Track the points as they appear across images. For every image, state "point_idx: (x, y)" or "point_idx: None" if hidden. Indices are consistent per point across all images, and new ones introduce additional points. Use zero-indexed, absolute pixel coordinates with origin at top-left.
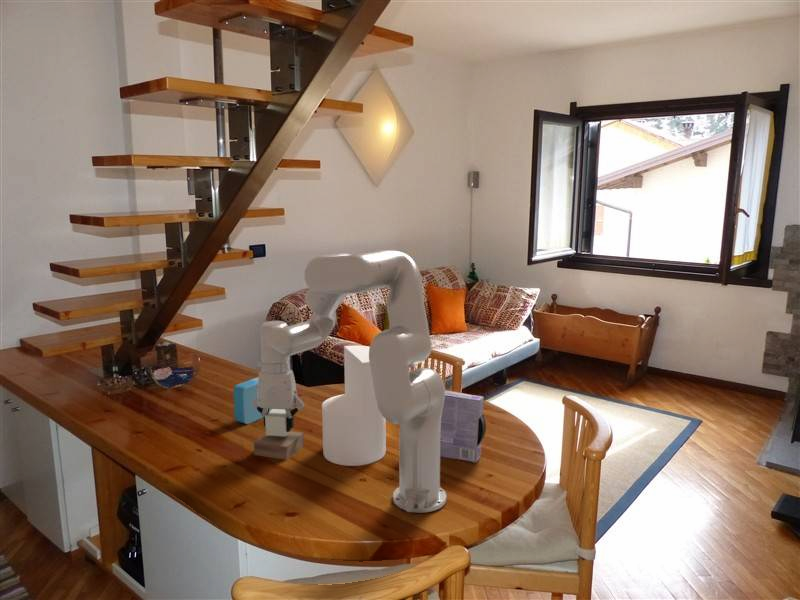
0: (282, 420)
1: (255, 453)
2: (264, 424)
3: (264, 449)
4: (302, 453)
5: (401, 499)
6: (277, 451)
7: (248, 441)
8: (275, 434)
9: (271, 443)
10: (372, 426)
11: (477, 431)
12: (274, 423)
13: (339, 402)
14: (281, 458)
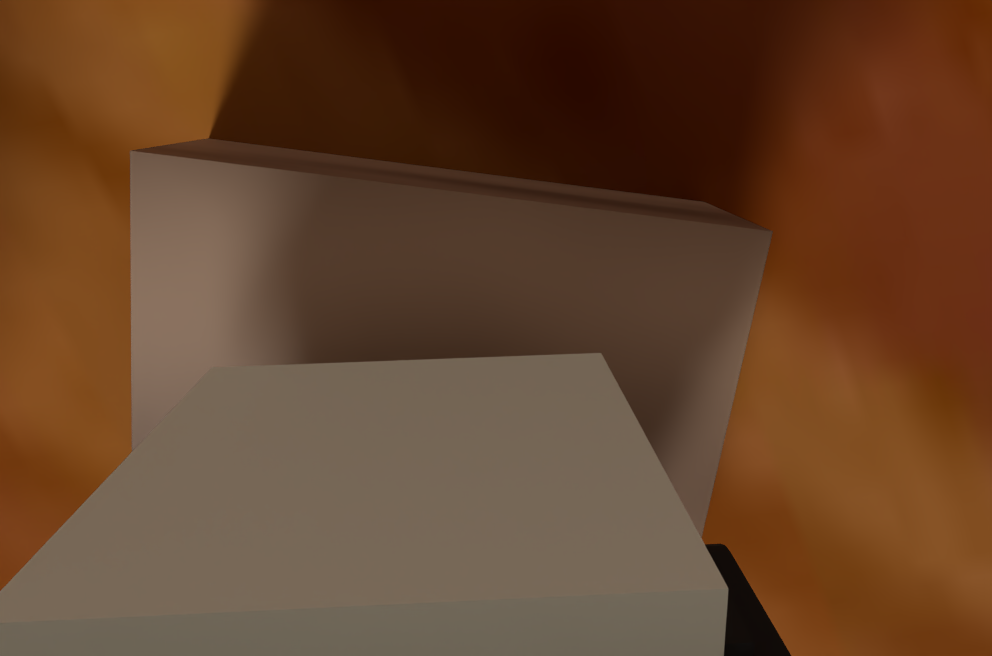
0: (111, 551)
1: (695, 204)
2: (718, 558)
3: (562, 194)
4: (98, 354)
5: None
6: (337, 165)
7: (899, 535)
8: (406, 369)
9: (457, 243)
10: None
11: None
12: (396, 479)
13: None
14: (294, 149)
